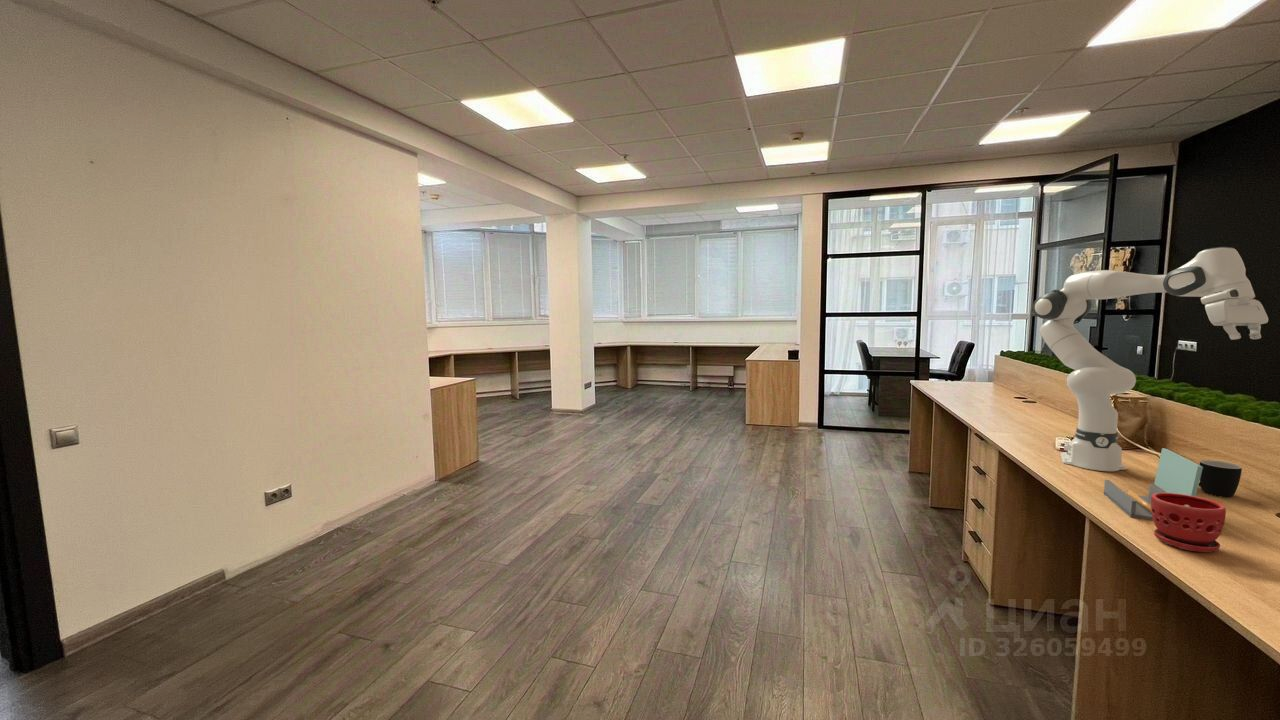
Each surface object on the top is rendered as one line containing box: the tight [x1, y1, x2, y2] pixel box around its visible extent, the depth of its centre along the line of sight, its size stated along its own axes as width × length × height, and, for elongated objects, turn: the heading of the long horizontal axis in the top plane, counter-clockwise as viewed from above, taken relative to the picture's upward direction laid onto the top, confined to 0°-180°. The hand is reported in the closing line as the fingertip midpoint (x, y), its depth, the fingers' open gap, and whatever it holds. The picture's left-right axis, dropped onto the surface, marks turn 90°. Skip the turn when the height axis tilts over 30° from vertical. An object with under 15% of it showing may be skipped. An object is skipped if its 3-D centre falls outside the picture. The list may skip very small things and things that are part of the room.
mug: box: [1198, 459, 1243, 498], centre depth 164 cm, size 12×9×10 cm
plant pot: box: [1151, 492, 1227, 553], centre depth 129 cm, size 13×13×12 cm
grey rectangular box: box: [1103, 479, 1186, 521], centre depth 153 cm, size 20×12×5 cm, turn 154°
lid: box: [1153, 447, 1203, 507], centre depth 149 cm, size 20×12×1 cm
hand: (1246, 338), depth 151 cm, fingers open, 8 cm apart
